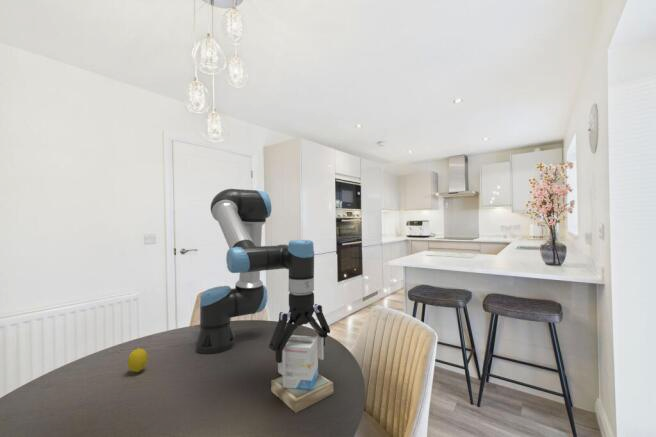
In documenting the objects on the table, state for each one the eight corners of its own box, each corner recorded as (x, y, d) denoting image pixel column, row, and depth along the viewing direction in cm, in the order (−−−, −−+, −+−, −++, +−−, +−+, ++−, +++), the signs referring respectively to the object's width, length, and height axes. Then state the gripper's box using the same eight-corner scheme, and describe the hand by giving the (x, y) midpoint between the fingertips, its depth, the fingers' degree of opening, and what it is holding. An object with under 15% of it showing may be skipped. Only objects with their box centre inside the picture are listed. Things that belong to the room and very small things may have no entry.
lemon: (150, 370, 95) (151, 346, 96) (133, 378, 90) (134, 353, 91) (140, 367, 98) (141, 343, 98) (123, 374, 93) (124, 350, 93)
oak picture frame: (271, 391, 82) (271, 379, 82) (306, 375, 91) (306, 365, 91) (295, 413, 72) (295, 400, 73) (333, 393, 81) (333, 382, 81)
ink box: (318, 375, 85) (318, 330, 85) (311, 391, 77) (311, 341, 77) (291, 372, 87) (291, 328, 87) (281, 387, 78) (281, 339, 79)
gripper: (269, 302, 72) (270, 386, 71) (340, 288, 88) (341, 356, 87) (256, 297, 77) (256, 374, 77) (325, 284, 94) (326, 348, 93)
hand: (301, 365), depth 82 cm, fingers open, 13 cm apart
